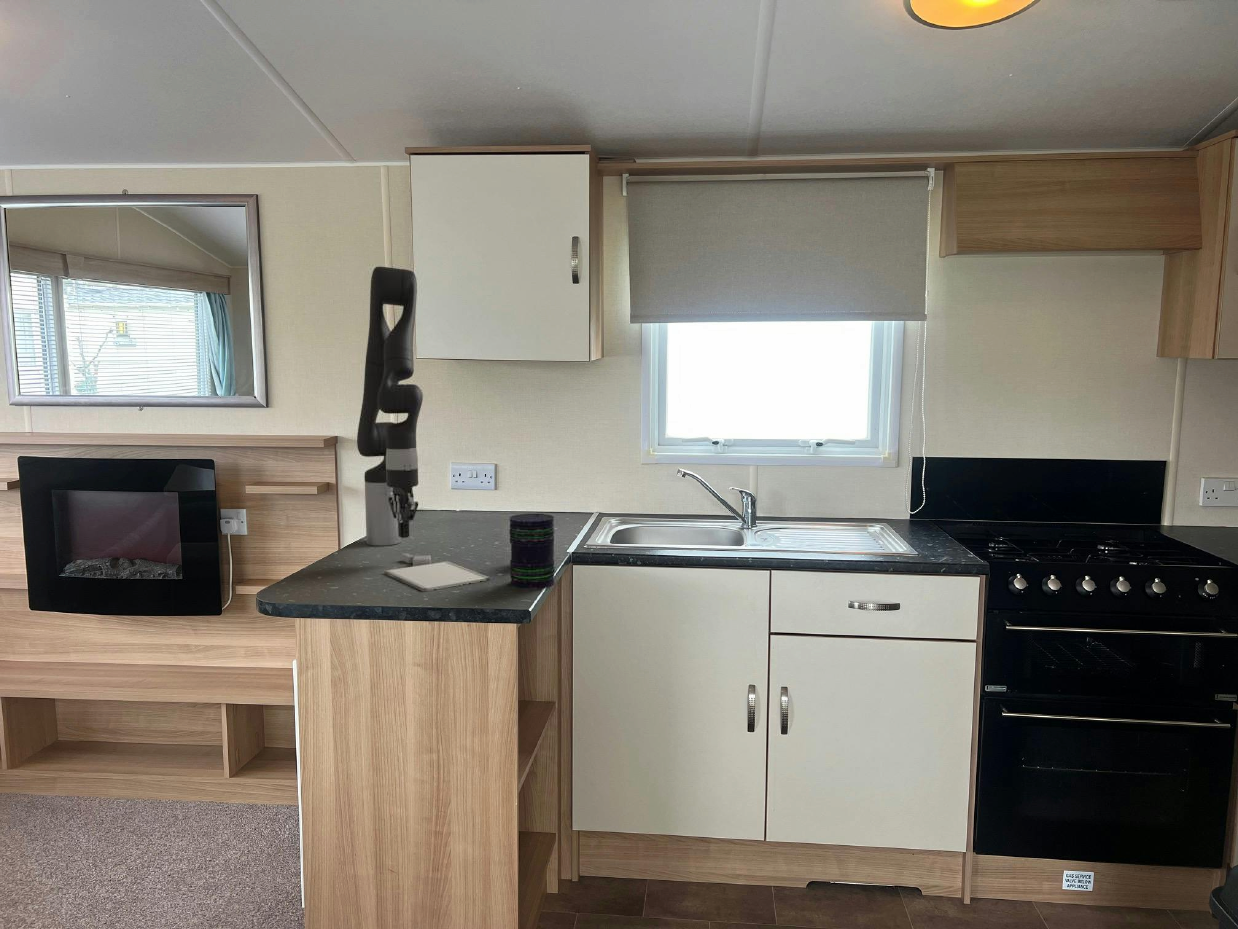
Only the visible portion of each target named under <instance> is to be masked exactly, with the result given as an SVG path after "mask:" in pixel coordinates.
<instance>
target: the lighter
mask: <svg viewBox="0 0 1238 929" xmlns="http://www.w3.org/2000/svg"><path fill="white" fill-rule="evenodd" d="M401 561H402V562H404V563H407V564H412V567H414V566H421V565H428V564H432V557H431V555H430V554H429V555H412V554H410V553H402V554H401Z"/></svg>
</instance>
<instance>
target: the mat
mask: <svg viewBox="0 0 1238 929" xmlns="http://www.w3.org/2000/svg"><path fill="white" fill-rule="evenodd" d="M384 574H385V575H387V576H390V577H391V578H393V579H396V580H398V581H400V582H402V583H404V584H406V585H409V586H411V587H413V588H415V589H417V590H419V591H420V592H429V591H435V590H434V589H436V590H440V589H446V588H452V587H453V586H454V587H458V586H459V585H460V586H464V585H463V584H465V585H470V584H469V583H471V584H476V583H481V582H480V581H483V582H487V581H488V580H489V581H490V576H487V575H484V574H481V573H479V572H477V571H474V570H472V569H468V568H466V567H463V566H460V565H459V564H455V563H453V562H451V561H447V560H445V561H442V562H436V563H431V564H428V565H421V566H414V567H413V566H409V567H401V568H394V569H385V570H384Z"/></svg>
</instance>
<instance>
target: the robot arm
mask: <svg viewBox="0 0 1238 929" xmlns="http://www.w3.org/2000/svg"><path fill="white" fill-rule="evenodd" d="M417 281H418V280H417V276H416V274H415V272H414V271H412V270H409V269H404V268H396V267H388V266H376V267H374V269H373V270H372V273H371V278H370V288H369V289H370V293H369V294H370V295H369V296H370V297H369V300H370V301H369V327H368V334H367V335H368V336H367V337H368V338H367V346H366V351H365V352H366V353H365V354H366V355H365V364H364V365H365V366H364V382H363V395H362V404H361V409H360V416H359V422H358V427H357V434H356V443H357V445H356V447H357V451H358V453H359V454H360V456H362V457H366V458H367V457H368V458H371V457H372V458H373V457H374V458H375V457H383V459H382V461H380V463H378V464H377V465H375V466H373V467H371V468H368V469H367V470H366V471H365V472H364V499H365V500H364V502H365V528H366V529H365V536H366V537H365V538H366V540H365V541H366V544H367V545H370V546H380V547H383V546H391V545H397V544H400V543H402V539H405V538H409V537H410V523H411V522H412V521H414V518H415V516H416V513H417V509H418V507H419V502H418V501H415V500H414V499H415V497H414V492H413V491H414V490H413V488H414V487H417V486H418V485H419V464H418V463H419V458H418V457H419V456H418V450H417V425H418V419H419V416H420V412H421V408H422V404H423V399H424V394H423V390H422V389H421V388H420V386H418V385H417V384H412V383H411V384H409V383H407V384H399V382H401V381H405V380H408V379H410V378H411V377H413V376H414V372H415V367H414V334H415V333H414V331H415V322H416V311H417V299H418V298H417V296H418V294H417V293H418V282H417ZM384 305H386V306H387V305H390V306H398V307H402V313H401V316H400V318H399V319H398V321H397V323H395V325H394V327H393V328H392V329H391V330H390V327H389V325H388V322H387V320H386V317H385V314H384V313H385V312H384ZM380 411H381V412H382V413H384V414H386V415H387V414H391V415H392V414H393V415H394V414H395V415H396V414H406V415H407V417H406V418H405V419H404V420H403V421H400V422H392V421H388V422H387V421H385V422H377V418H378V416H379V412H380Z"/></svg>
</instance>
